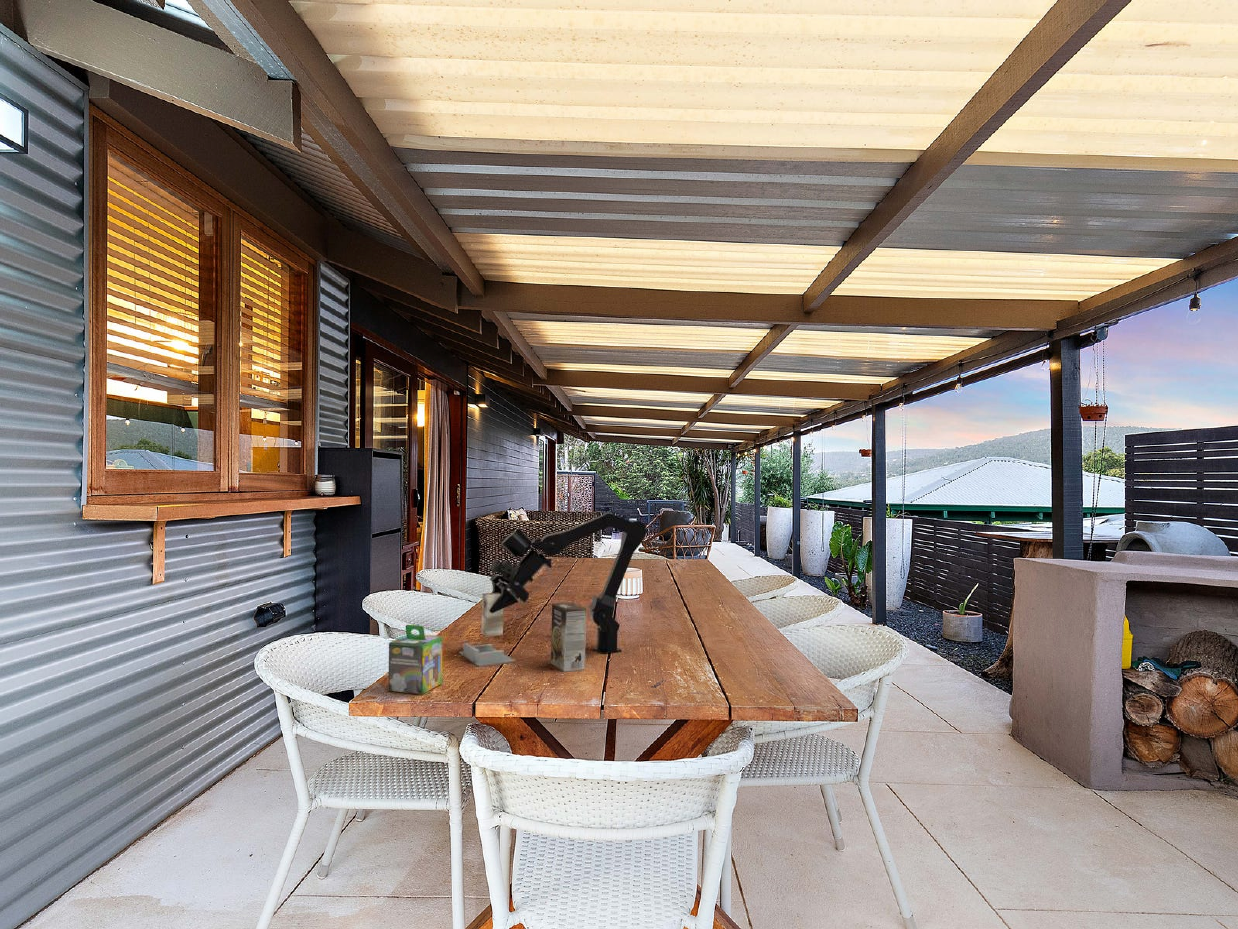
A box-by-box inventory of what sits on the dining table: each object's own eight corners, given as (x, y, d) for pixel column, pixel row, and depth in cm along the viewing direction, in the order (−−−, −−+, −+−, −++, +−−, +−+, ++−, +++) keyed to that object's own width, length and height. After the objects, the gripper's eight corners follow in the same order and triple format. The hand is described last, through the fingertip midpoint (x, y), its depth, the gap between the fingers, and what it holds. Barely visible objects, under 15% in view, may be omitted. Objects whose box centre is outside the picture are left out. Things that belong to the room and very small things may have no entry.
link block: (502, 635, 187) (503, 595, 187) (486, 636, 184) (487, 596, 185) (496, 631, 191) (497, 592, 191) (480, 633, 188) (481, 593, 189)
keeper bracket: (515, 662, 182) (515, 649, 183) (479, 667, 177) (479, 653, 177) (493, 649, 196) (494, 637, 196) (459, 653, 191) (459, 641, 191)
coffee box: (549, 663, 182) (551, 603, 182) (571, 661, 185) (572, 601, 185) (563, 672, 174) (564, 609, 174) (586, 669, 177) (587, 607, 177)
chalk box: (443, 684, 161) (444, 622, 162) (421, 696, 152) (423, 629, 153) (409, 680, 164) (410, 619, 164) (386, 691, 155) (388, 626, 155)
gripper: (497, 546, 198) (459, 586, 193) (519, 552, 182) (477, 596, 176) (522, 572, 202) (485, 612, 196) (545, 581, 185) (505, 624, 180)
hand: (487, 610), depth 187 cm, fingers closed on link block, 5 cm apart
